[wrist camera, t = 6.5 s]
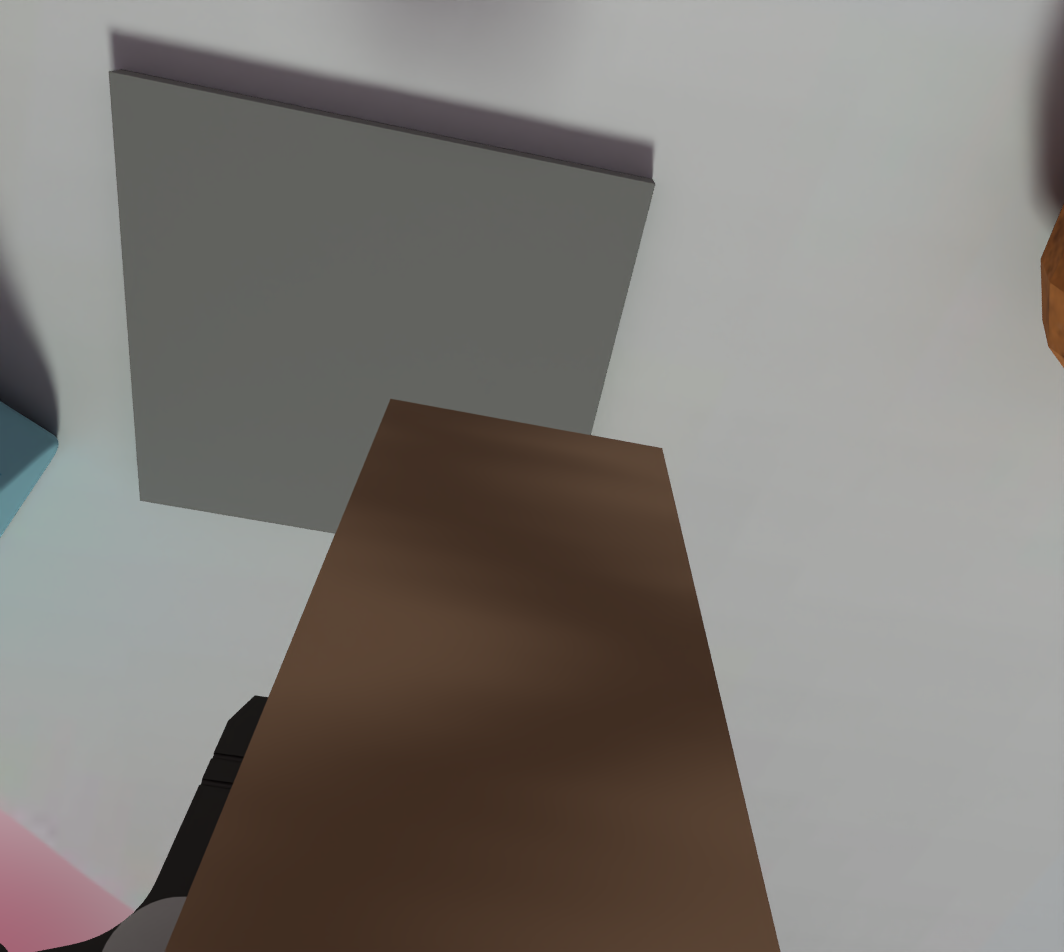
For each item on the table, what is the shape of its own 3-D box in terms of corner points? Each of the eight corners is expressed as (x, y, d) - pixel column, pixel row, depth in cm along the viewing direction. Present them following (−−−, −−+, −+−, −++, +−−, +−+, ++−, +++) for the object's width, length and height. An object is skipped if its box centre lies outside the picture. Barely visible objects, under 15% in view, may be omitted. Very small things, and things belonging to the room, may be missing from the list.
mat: (652, 179, 20) (655, 183, 20) (555, 559, 26) (555, 570, 26) (120, 69, 19) (108, 71, 19) (149, 490, 25) (140, 500, 25)
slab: (666, 445, 12) (961, 1651, 3) (544, 830, 16) (530, 1747, 8) (387, 395, 11) (-111, 1579, 3) (343, 800, 16) (99, 1720, 8)
